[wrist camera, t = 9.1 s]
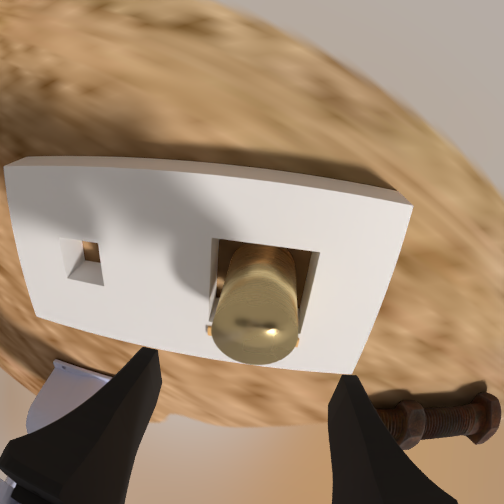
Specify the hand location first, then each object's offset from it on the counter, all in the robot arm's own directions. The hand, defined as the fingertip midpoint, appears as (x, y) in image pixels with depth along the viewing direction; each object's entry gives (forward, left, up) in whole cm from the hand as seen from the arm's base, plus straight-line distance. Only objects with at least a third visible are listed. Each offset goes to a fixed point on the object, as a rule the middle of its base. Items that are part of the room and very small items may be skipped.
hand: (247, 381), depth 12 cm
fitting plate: (-5, 0, -9) cm, 10 cm away
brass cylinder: (0, 0, -9) cm, 9 cm away
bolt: (+18, -13, -9) cm, 25 cm away
